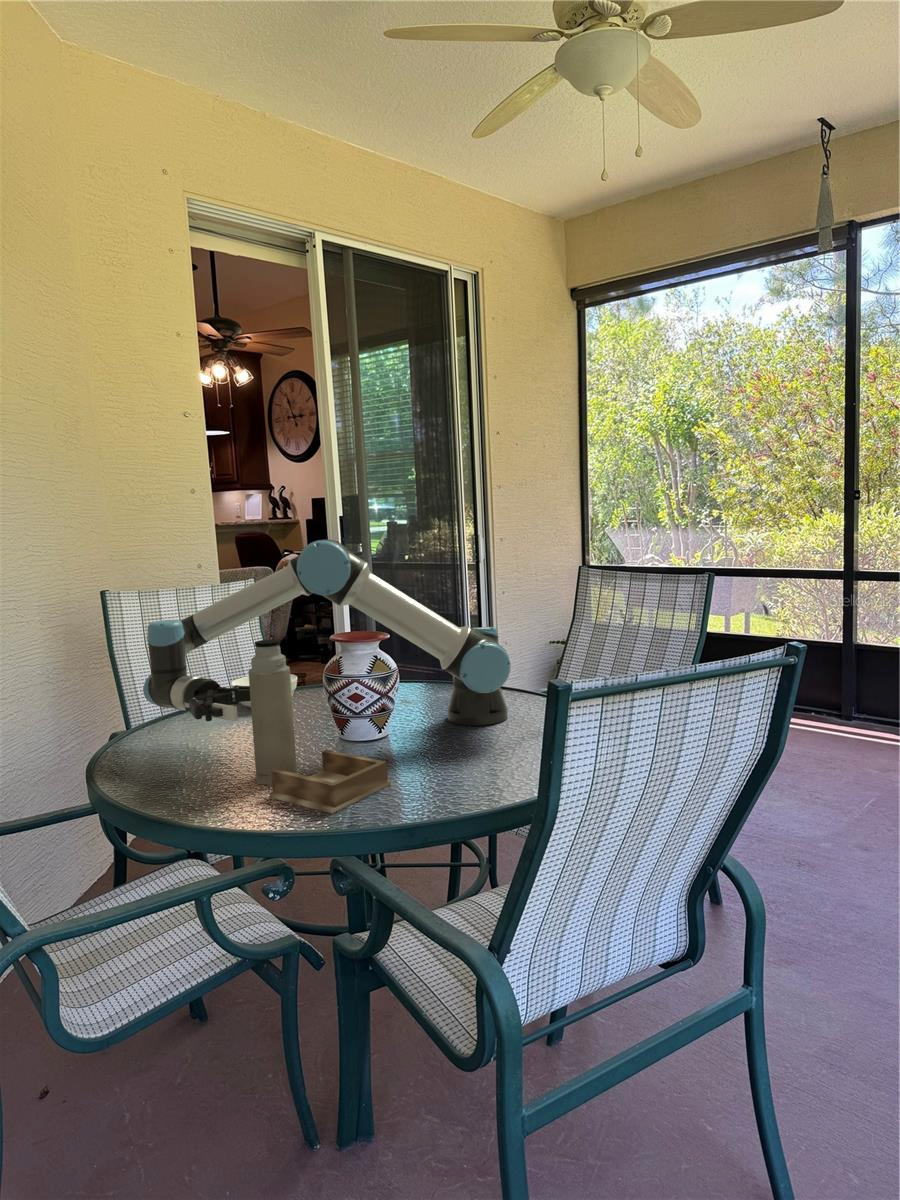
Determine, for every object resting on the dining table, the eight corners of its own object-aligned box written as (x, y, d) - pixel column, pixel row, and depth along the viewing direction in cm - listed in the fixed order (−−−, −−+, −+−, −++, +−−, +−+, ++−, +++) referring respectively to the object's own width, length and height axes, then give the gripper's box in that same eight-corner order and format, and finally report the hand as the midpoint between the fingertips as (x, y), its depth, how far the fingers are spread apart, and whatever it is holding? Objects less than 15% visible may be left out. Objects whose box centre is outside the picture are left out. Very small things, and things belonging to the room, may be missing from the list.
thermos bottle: (248, 779, 150) (238, 641, 147) (282, 768, 156) (273, 636, 153) (270, 788, 145) (260, 645, 141) (304, 776, 150) (295, 639, 147)
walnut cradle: (269, 797, 140) (268, 772, 139) (330, 771, 153) (328, 748, 152) (332, 813, 130) (330, 787, 130) (390, 784, 143) (389, 760, 143)
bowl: (258, 696, 224) (256, 672, 223) (311, 698, 217) (309, 674, 217) (219, 711, 207) (217, 685, 206) (274, 715, 200) (273, 688, 200)
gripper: (244, 699, 172) (310, 709, 160) (146, 726, 152) (212, 740, 140) (242, 667, 171) (307, 675, 159) (143, 690, 151) (209, 701, 139)
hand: (263, 705), depth 149 cm, fingers open, 13 cm apart
